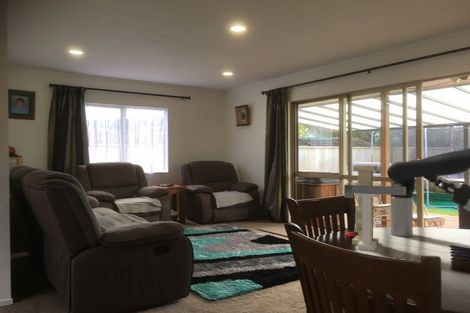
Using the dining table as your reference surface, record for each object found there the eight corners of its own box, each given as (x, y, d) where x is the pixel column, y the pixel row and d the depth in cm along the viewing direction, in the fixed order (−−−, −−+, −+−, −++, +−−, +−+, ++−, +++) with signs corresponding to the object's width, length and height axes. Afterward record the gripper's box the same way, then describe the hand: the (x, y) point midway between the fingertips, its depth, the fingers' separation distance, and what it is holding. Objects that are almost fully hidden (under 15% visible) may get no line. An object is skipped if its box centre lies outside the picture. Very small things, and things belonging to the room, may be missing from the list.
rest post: (358, 245, 149) (358, 192, 149) (379, 248, 145) (379, 193, 145) (354, 248, 144) (354, 193, 144) (376, 251, 140) (376, 194, 140)
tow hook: (344, 234, 173) (347, 237, 164) (344, 206, 174) (347, 208, 165) (362, 234, 172) (366, 238, 163) (362, 206, 172) (366, 208, 163)
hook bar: (346, 196, 150) (346, 184, 150) (405, 200, 139) (405, 186, 139) (344, 197, 147) (344, 184, 147) (405, 200, 136) (405, 187, 136)
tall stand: (356, 240, 158) (356, 165, 158) (378, 242, 154) (378, 165, 154) (352, 244, 151) (352, 165, 151) (375, 247, 147) (375, 166, 147)
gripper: (475, 188, 133) (432, 164, 140) (478, 191, 121) (430, 165, 128) (463, 205, 135) (420, 181, 142) (464, 210, 123) (417, 184, 130)
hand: (425, 174), depth 135 cm, fingers open, 8 cm apart
